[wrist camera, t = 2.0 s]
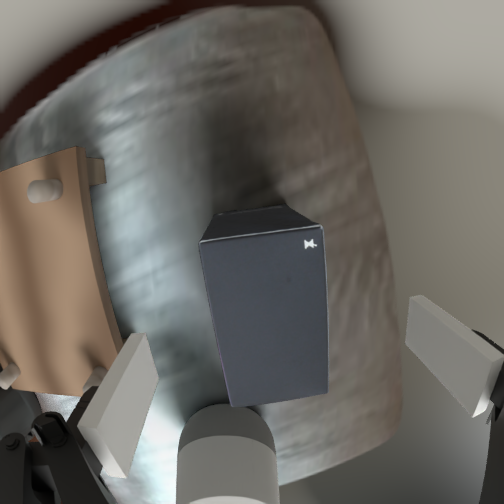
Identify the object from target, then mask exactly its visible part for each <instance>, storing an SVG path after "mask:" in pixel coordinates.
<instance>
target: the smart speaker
mask: <svg viewBox="0 0 504 504" xmlns="http://www.w3.org/2000/svg"><path fill="white" fill-rule="evenodd" d="M176 504H280V501H279V486H278V472H277V459H276V451H275V445H274V440H273V436H272V433H271V431H270V429H269V427H268V425H267V424H266V422H265V421H264V420H263V419H262V418H261V417H260V416H259V415H258V414H257V413H255V412H254V411H252V410H251V409H248V408H246V407H232V406H231V404H216V405H211V406H208V407H205V408H203V409H201V410H199V411H198V412H196V413H195V414H194V415H192V416H191V418H190V419H189V420H188V421H187V423H186V424H185V426H184V428H183V430H182V433H181V436H180V440H179V447H178V456H177V482H176Z"/></svg>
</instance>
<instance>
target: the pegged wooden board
mask: <svg viewBox="0 0 504 504" xmlns="http://www.w3.org/2000/svg"><path fill="white" fill-rule="evenodd" d="M103 183H106V175H105V165H104V159H97V158H89V157H86V151H85V148H83V147H77V146H75V147H71V148H68V149H65V150H61V151H58V152H55V153H52V154H49V155H46V156H43V157H40V158H37V159H34V160H31V161H28V162H25V163H23V164H20V165H17V166H14V167H12V168H9V169H7V170H4V171H2V172H0V363H1V366H2V368H3V371H2V372H1V373H0V386H1V387H2V388H3V389H8V388H9V386H10V385H11V386H12V388H13V389H18V390H24V391H31V392H39V393H47V394H57V395H67V396H80V397H82V395H83V394H84V392H86V391H87V390H88V389H89V388H90V387H92V386H100V384H101V383H102V381H103V379H104V377H105V376H106V374H107V372H108V371H109V369H110V367H111V366H112V364H113V362H114V361H115V359H116V357H117V356H118V354H119V352H120V351H121V349H122V347H123V346H124V344H125V343H126V341H127V339H128V338H121V335H120V332H119V328H118V325H117V321H116V318H115V314H114V311H113V307H112V303H111V299H110V295H109V291H108V287H107V283H106V279H105V274H104V270H103V265H102V261H101V256H100V251H99V246H98V241H97V235H96V229H95V224H94V217H93V211H92V204H91V197H90V190H89V187H90V186H94V185H99V184H103Z"/></svg>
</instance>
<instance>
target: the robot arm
mask: <svg viewBox="0 0 504 504" xmlns="http://www.w3.org/2000/svg"><path fill="white" fill-rule="evenodd" d="M407 323H408V324H407V332H406V340H405V344H406V345H407V346H408V347H409V348H410V349H411V350H412V352H413V353H414V354H415V355H416V356H417V357H418V358H419V359H420V360H421V361H422V362H423V363H424V364H425V365H426V367H427V368H428V369H429V370H430V371H431V372H432V373H433V374H434V375H435V376H436V377H437V379H438V380H439V381H440V382H441V383H442V384H443V385H444V386H445V387H446V388H447V390H448V391H449V392H450V393H451V394H452V395H453V396H454V397H455V398H456V400H457V401H458V402H459V403H460V404H461V405H462V406H463V407H464V409H465V410H466V411H467V412H468V413H469V414H470V416H471V417H474V416H477V415H479V414H480V413H482V412H484V411H485V410H486V408H487V405H488V403H489V401H490V400H491V401H492V402H493V403H494V406H493V408H492V411H491V413H490V415H489V417H488V419H487V422H486V424H488V423H489V421H490V420H491V430H490V440H489V449H488V458H487V464H486V471H485V477H484V482H483V487H482V492H481V496H480V501H479V504H504V349H502V348H501V347H500V346H498V345H497V344H496V343H495V344H494V342H493V341H492V340H490V339H489V338H488V337H486V336H485V335H484V334H482V333H480V332H478V331H475V330H470V329H469V328H468V327H466V326H465V325H463V324H462V323H461V322H459V321H458V320H457V319H455V318H454V317H453V316H451V315H450V314H448V313H447V312H446V311H444V310H443V309H441V308H440V307H438V306H437V305H436V304H434V303H433V302H431V301H430V300H428V299H427V298H425V297H424V296H423V295H418V296H414V297H410V301H409V313H408V322H407ZM2 371H3V368H2V366H1V363H0V373H1V372H2ZM158 381H159V377H158V373H157V370H156V367H155V364H154V360H153V357H152V354H151V350H150V347H149V343H148V340H147V336H146V333H131V335H130V336H129V338H128V339H127V341H126V343H125V344H124V346H123V347H122V349H121V351H120V352H119V354H118V356H117V357H116V359H115V361H114V362H113V364H112V366H111V367H110V369H109V371H108V372H107V374H106V376H105V377H104V379H103V381H102V383H101V384H100V386H92V387H90V388H89V389H88V390H87V391H86V392H84V394H83V395H82V397H81V399H80V400H79V402H78V403H77V405H76V409H75V408H74V410H73V412H72V413H71V415H70V417H69V418H68V420H67V422H66V421H65V420H64V418H63V416H62V415H61V414H60V413H57V412H51V411H50V412H45V413H43V414H42V411H41V408H40V405H39V402H38V400H37V398H36V396H35V394H34V393H33V392H31V391H24V390H18V389H13V388H12V386H11V385H10V386H9V388H8V389H3V388H2V387H1V386H0V504H61V501H62V503H63V504H118V503H117V501H116V500H115V498H114V497H113V495H112V493H111V492H110V490H109V488H108V487H107V485H106V483H105V482H104V480H103V478H102V477H101V476H100V473H101V470H102V467H103V468H104V470H105V471H106V473H107V474H108V475H109V476H112V477H119V478H128V474H129V471H130V467H131V464H132V461H133V458H134V454H135V451H136V448H137V445H138V441H139V438H140V435H141V432H142V429H143V426H144V423H145V420H146V416H147V413H148V410H149V407H150V404H151V401H152V398H153V395H154V392H155V390H156V387H157V384H158ZM34 436H36V437H37V439H38V440H39V442H28V441H29V440H31V439H32V438H33V437H34ZM60 498H61V499H60Z"/></svg>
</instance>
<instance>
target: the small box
mask: <svg viewBox="0 0 504 504" xmlns="http://www.w3.org/2000/svg"><path fill="white" fill-rule="evenodd" d="M199 252H200V257H201V263H202V268H203V274H204V279H205V285H206V290H207V295H208V300H209V306H210V311H211V316H212V321H213V326H214V330H215V335H216V340H217V345H218V350H219V355H220V359H221V364H222V369H223V373H224V378H225V383H226V387H227V391H228V396H229V400H230V404H231V406H232V407H243V406H253V405H261V404H268V403H276V402H282V401H288V400H294V399H300V398H305V397H310V396H315V395H320V394H327V393H328V392H329V322H328V299H327V271H326V257H325V244H324V229H323V227H322V226H321V225H320V224H318V223H315V222H313V221H311V220H310V219H308V218H306V217H305V216H303V215H301V214H299V213H298V212H296V211H295V210H293V209H291V208H290V207H289V206H288V205H286V204H279V205H276V206H273V207H271V206H268V207H263V208H256V209H246V210H240V211H237V210H234V211H229V212H224V213H221V214H215V215H214V216H213V218H212V220H211V222H210V224H209V226H208V228H207V230H206V231H205V233H204V235H203V237H202V239H201V240H200V241H199Z"/></svg>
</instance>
